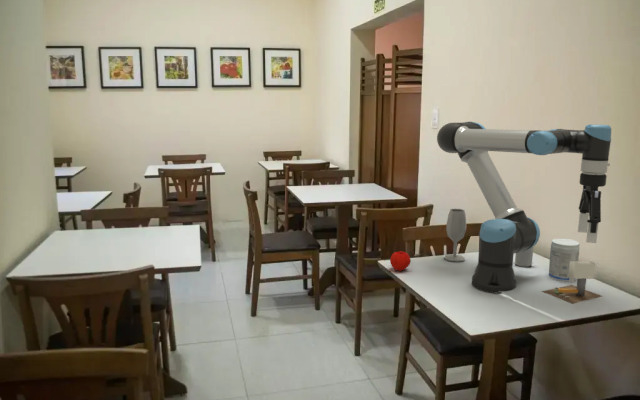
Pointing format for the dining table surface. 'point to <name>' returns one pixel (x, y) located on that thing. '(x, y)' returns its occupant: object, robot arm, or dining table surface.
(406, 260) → the apple
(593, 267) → the beige block on post
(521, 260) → the beverage can
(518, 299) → the dining table surface
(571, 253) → the supplement tub
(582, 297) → the base
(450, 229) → the wineglass
